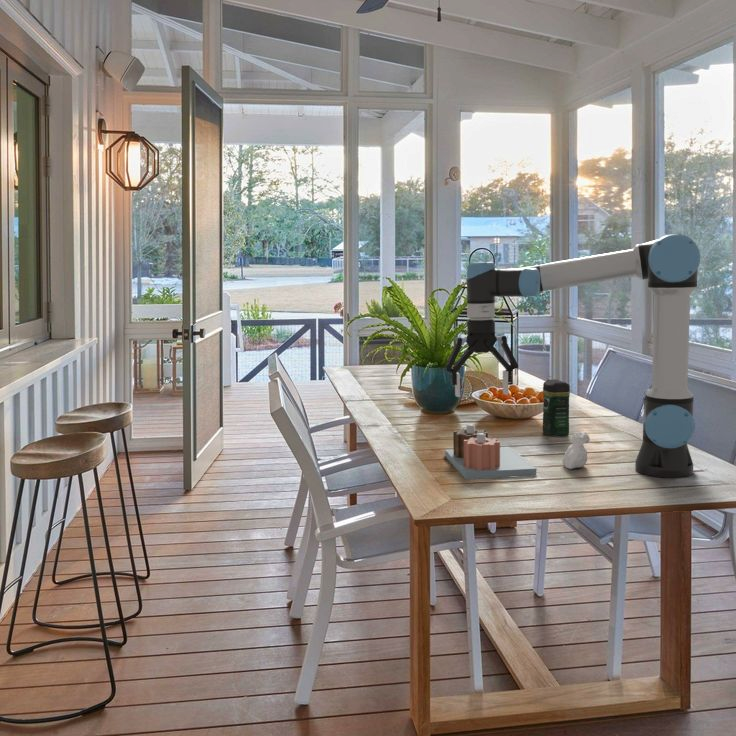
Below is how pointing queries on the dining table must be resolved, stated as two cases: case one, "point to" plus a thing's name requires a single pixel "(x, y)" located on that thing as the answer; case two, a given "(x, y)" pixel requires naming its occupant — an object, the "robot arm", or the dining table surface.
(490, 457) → the brick-red gear
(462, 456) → the walnut gear
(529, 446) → the dining table surface
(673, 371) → the robot arm
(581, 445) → the white rounded figure
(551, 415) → the coffee jar
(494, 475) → the slate gear board
